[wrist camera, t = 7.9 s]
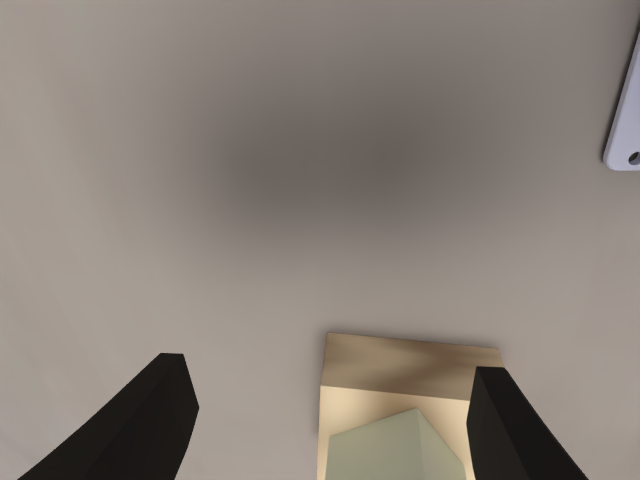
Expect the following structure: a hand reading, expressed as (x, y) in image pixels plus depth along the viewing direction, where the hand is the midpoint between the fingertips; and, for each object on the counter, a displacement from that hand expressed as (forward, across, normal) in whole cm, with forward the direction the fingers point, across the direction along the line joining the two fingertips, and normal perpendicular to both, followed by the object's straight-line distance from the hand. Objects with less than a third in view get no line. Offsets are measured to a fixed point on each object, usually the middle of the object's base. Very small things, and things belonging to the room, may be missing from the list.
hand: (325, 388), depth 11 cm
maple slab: (+10, -3, +12) cm, 16 cm away
